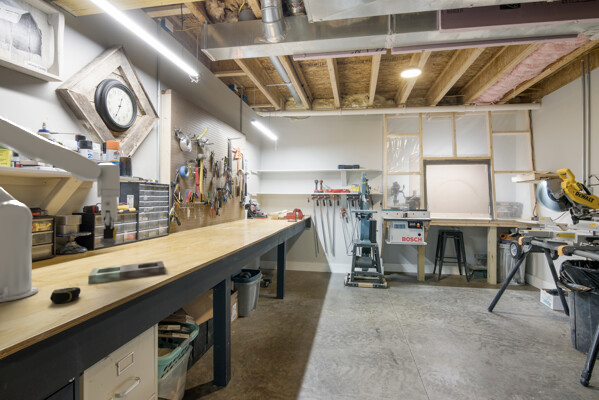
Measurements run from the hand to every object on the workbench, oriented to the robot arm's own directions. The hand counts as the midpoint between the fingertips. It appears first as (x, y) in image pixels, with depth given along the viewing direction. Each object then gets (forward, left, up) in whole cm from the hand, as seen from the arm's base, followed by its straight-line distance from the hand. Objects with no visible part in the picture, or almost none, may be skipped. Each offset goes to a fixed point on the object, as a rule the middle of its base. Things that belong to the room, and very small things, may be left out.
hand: (109, 237), depth 109 cm
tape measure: (-25, -2, -17) cm, 30 cm away
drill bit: (0, 0, -4) cm, 4 cm away
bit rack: (+3, -6, -17) cm, 18 cm away
